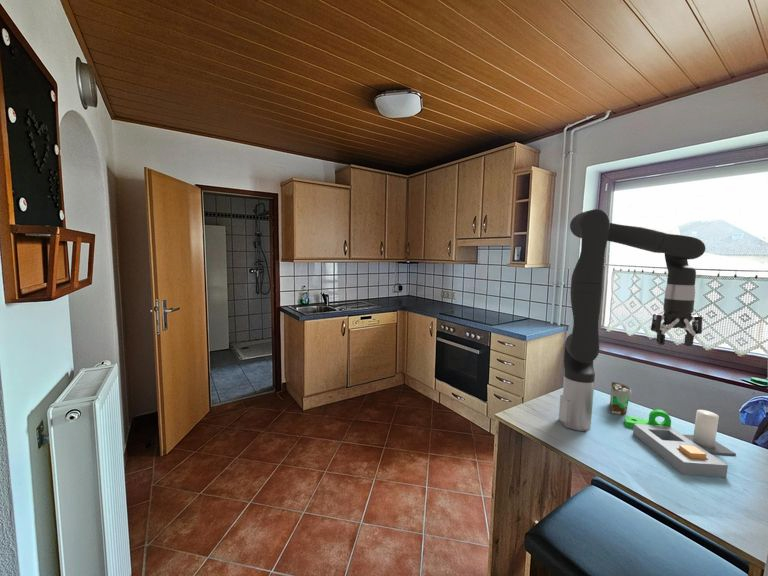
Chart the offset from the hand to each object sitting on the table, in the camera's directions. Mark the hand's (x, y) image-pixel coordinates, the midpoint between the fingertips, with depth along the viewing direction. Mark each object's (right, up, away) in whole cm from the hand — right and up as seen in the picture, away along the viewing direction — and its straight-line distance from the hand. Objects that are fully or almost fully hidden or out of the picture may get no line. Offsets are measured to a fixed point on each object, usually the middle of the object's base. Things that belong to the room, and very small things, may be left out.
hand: (674, 345), depth 112 cm
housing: (-10, -31, -11) cm, 35 cm away
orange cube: (-11, -31, -17) cm, 37 cm away
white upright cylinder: (+3, -30, -7) cm, 31 cm away
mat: (+4, -31, -7) cm, 32 cm away
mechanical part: (-7, -30, +4) cm, 31 cm away
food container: (-7, -29, +16) cm, 34 cm away
